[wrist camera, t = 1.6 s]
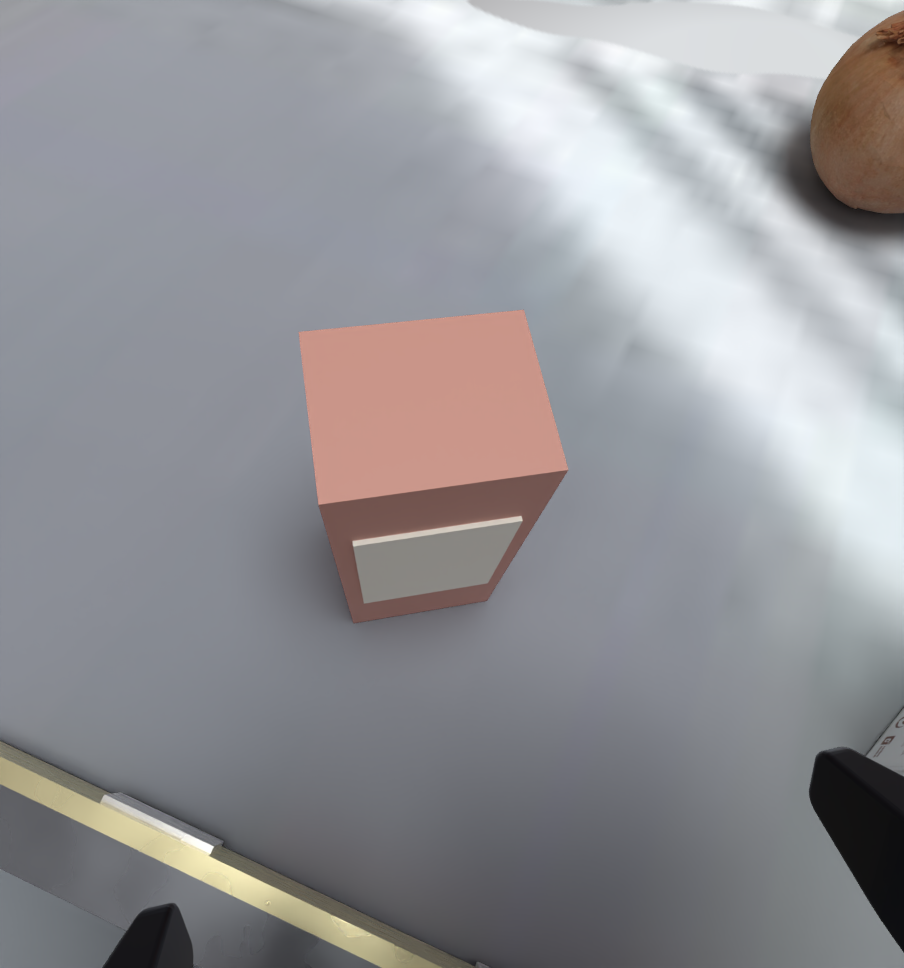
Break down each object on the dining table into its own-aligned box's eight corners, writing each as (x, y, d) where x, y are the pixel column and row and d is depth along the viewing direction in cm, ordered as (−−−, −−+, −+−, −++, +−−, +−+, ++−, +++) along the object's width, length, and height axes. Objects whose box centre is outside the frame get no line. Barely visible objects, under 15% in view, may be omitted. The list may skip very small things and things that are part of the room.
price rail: (729, 1196, 18) (773, 1253, 16) (-67, 807, 20) (-120, 812, 18) (748, 1084, 19) (791, 1124, 17) (-12, 724, 21) (-55, 721, 19)
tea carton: (487, 604, 24) (570, 475, 13) (353, 626, 23) (319, 510, 12) (466, 502, 25) (523, 309, 14) (340, 520, 25) (298, 332, 14)
